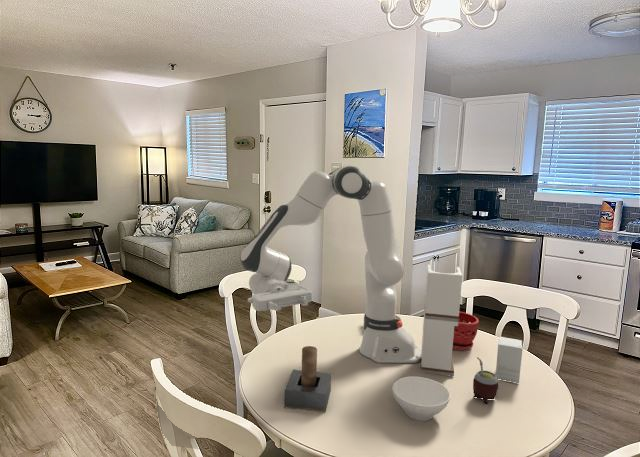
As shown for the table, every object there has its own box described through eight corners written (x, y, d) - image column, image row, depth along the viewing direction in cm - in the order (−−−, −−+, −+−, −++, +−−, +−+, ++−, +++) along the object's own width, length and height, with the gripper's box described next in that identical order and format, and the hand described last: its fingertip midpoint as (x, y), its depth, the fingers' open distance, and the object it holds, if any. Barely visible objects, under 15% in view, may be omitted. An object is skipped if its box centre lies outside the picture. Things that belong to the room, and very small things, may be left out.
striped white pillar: (453, 376, 145) (462, 275, 139) (421, 372, 147) (428, 272, 141) (451, 361, 156) (459, 267, 150) (421, 357, 158) (427, 264, 152)
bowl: (412, 436, 113) (414, 411, 112) (380, 404, 127) (381, 381, 126) (460, 422, 119) (462, 399, 118) (424, 393, 134) (426, 372, 133)
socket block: (330, 390, 134) (331, 373, 133) (325, 412, 122) (326, 394, 121) (292, 386, 136) (293, 369, 135) (284, 407, 124) (284, 389, 123)
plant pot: (452, 354, 162) (454, 323, 160) (435, 339, 174) (437, 311, 172) (483, 351, 165) (486, 321, 163) (464, 337, 177) (466, 309, 175)
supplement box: (519, 375, 147) (522, 340, 145) (518, 385, 141) (522, 348, 139) (495, 370, 150) (499, 335, 148) (494, 379, 144) (498, 343, 142)
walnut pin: (316, 393, 131) (318, 346, 128) (314, 401, 126) (315, 353, 124) (302, 392, 131) (303, 345, 129) (299, 400, 127) (300, 351, 125)
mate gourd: (494, 394, 134) (498, 349, 132) (499, 408, 127) (504, 360, 124) (469, 391, 136) (473, 346, 133) (472, 405, 128) (477, 357, 126)
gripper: (245, 289, 141) (261, 301, 130) (301, 280, 151) (320, 291, 140) (245, 307, 142) (261, 321, 131) (301, 298, 152) (320, 310, 141)
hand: (292, 305), depth 135 cm, fingers open, 8 cm apart
